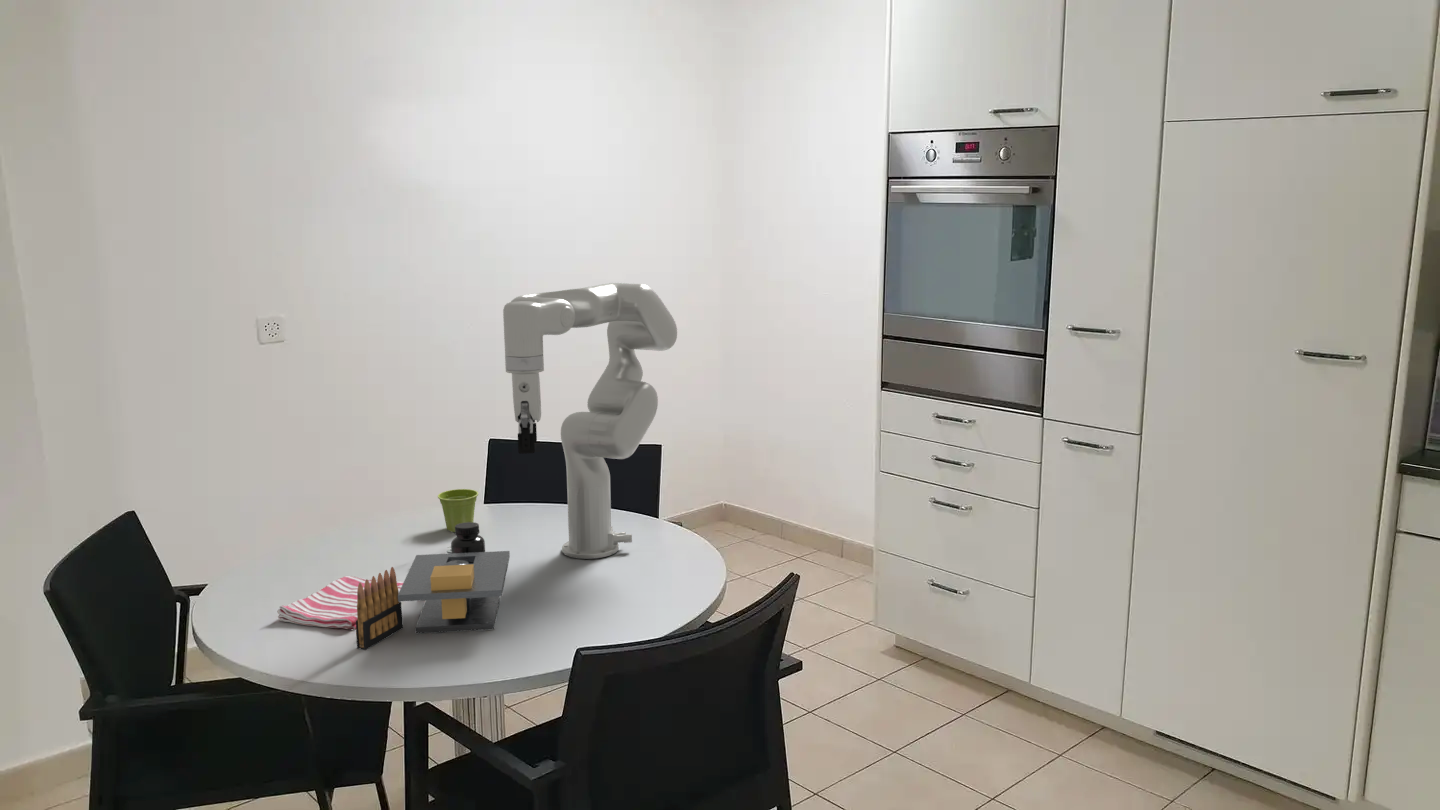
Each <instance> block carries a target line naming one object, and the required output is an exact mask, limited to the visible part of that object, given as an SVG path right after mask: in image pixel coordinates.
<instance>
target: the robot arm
mask: <svg viewBox="0 0 1440 810" xmlns="http://www.w3.org/2000/svg"><path fill="white" fill-rule="evenodd" d="M503 306H504V307H503V310H502V313H503V314H502V315H503V316H502V317H503V337H504V338H503V340H504V363H505V364H504V365H505V373H508V374H511V382H512V383H511V385H512V387H511V388H512V399H513V402H512V403H513V412H514V420H515V422H516V423H517V424H518V433H517V451H518V454H520V455H521V454H522V455H523V454H524V455H525V454H527V455H528V454H535V451H536V445H535V444H536V442H537V441H538V440H537V438H538V433H537V423H538V422H540V421H541V418H542V404H541V403H542V402H541V400H542V399H541V382H540V380H541V379H540V373H543V372H544V371H545V367H544V366H545V364H544V338H543V337H544V336H560V335H564V334H565V333H567V332H569V331H570V330H571V329H572V328H573V329H575V328H576V329H579V328H592V327H594V326H595V327H596V326H598V325H602V324H607V323H608V325H607V329H606V334H607V335H606V337H607V345H608V354H609V355H608V356H609V359H608V364H607V366H606V367H605V369H604V371H603V373H602V374H601V376H600V377H599V378H598V380H597V382H596V384H595V385H594V386H593V389H592V390H591V392H590V393H589V395H588V399H587V410H588V411H578V412H573V413H571V414H569V415H568V416H566V417H565V418H564V419H563V421H562V424H561V427H560V439H561V440H560V441H561V445H562V449H563V452H564V453H563V454H564V460H565V466H566V469H565V470H566V489H567V490H566V491H567V522H568V523H567V525H568V526H567V527H568V541H566V542H565V543H564V544H563V545H562V547H561V552H562V553H563V554H564V556H567V557H569V558H574V559H580V560H582V559H583V560H590V559H592V560H593V559H594V560H595V559H601V558H605V557H609V556H613V555H614V554H616V553H617V552H618V551H619V546H620V545H619V544H620V543H623V544H626V543H628V544H629V543H630V544H631V543H633V534H632V533H626V532H627V531H623V532H622V531H620V532H616V531H614V529H613V526H612V510H611V509H612V507H611V506H612V504H611V503H612V500H611V474H610V470H609V467H608V464H607V463H606V460H605V459H606V458H607V459H613V460H615V459H617V460H625V459H628V458H630V457H631V456H632V455H633V454H634V453H635V452H636V450H637V448H638V447H639V445H640V444H641V442H642V440H643V439H644V437H645V435H646V434H647V432H648V430H649V428H650V426H651V424H652V423H653V421H654V419H655V416H656V414H657V411H658V410H657V409H658V405H659V398H658V397H659V396H658V393H657V390H656V388H655V387H654V386H653V385H651V384H650V383H648V382H645V381H642V379H643V376H644V375H643V374H644V373H643V372H644V371H643V368H642V365H641V362H640V361H639V359H638V357H637V355H636V351H635V350H638V351H639V350H641V351H658V352H660V351H661V352H663V351H668V350H670V349H671V348H672V347H673V346H674V345H675V343H676V341H677V338H678V327H677V324H676V321H675V319H674V316H673V315H672V314H671V312H670V311H669V310H668V308H667V306H666V305H665V303H664V302H663V300H662V299H661V298H660V296H659V295H658V293H657V292H655V291H654V289H653V288H651V286H648V285H647V284H644V283H625V282H624V283H622V282H609V283H602V284H598V285H593V286H592V285H591V286H587V287H579V288H570V289H565V290H557V291H546V292H537V293H531V294H525V295H519V296H516V297H514V298H513V299H512V300H511V301H510V302H507V303H506V304H505V305H503Z"/></svg>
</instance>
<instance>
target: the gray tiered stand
mask: <svg viewBox="0 0 1440 810" xmlns="http://www.w3.org/2000/svg"><path fill="white" fill-rule="evenodd" d="M510 554H511V553H510V550H501V551H500V550H499V551H485V552H473V553H435V554H433V553H432V554H416V555H415V557H414V560H413V561H412V564H411V566H410V568H409V570H408V572H407V574H406V576H405V579H404V581H403V582H404V583H403V585H402V587H401V589H400V591H399V594H398V602H399V601H401V602H413V601H414V602H415V601H417V602H419V601H424V604H423V607H422V609H421V612H420V615H419V616H418V619H417V622H416V625H415V628H414V629H415V634H416V635H418V634H434V633H453V632H470V631H471V632H472V631H473V632H474V631H491V630H495V627H496V622H497V617H498V613H499V607H500V602H501V601H500V600H501V599H500V597H503V592H504V588H505V583H506V577H507V573H508V572H507V571H508V568H509V561H510V556H511V555H510ZM468 562H474V563H473V564H474V580H473V584H472V588H471V589H454V590H435V591H431V578H430V577H431V575H432V572H433V569H434V566H449V565H469V563H468ZM459 598H466V604H467V612H466V616H465V618H456V619H442V602H441V599H459Z"/></svg>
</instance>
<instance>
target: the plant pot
mask: <svg viewBox="0 0 1440 810" xmlns="http://www.w3.org/2000/svg"><path fill="white" fill-rule="evenodd" d="M478 496H479V492H478V491H477V490H475V489H471V488H470V489H469V488H457V489H450V490H449V489H448V490H446V491H442V492H440V493H438V495H437V499H439V502H440V504H441V508H442V511H443V517H444V522H445V526H446V530H447V531H450V532H451V533H455V526H456V525H457V524H460V523H465V522H474V517H475V508H476V502H477V497H478Z"/></svg>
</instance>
